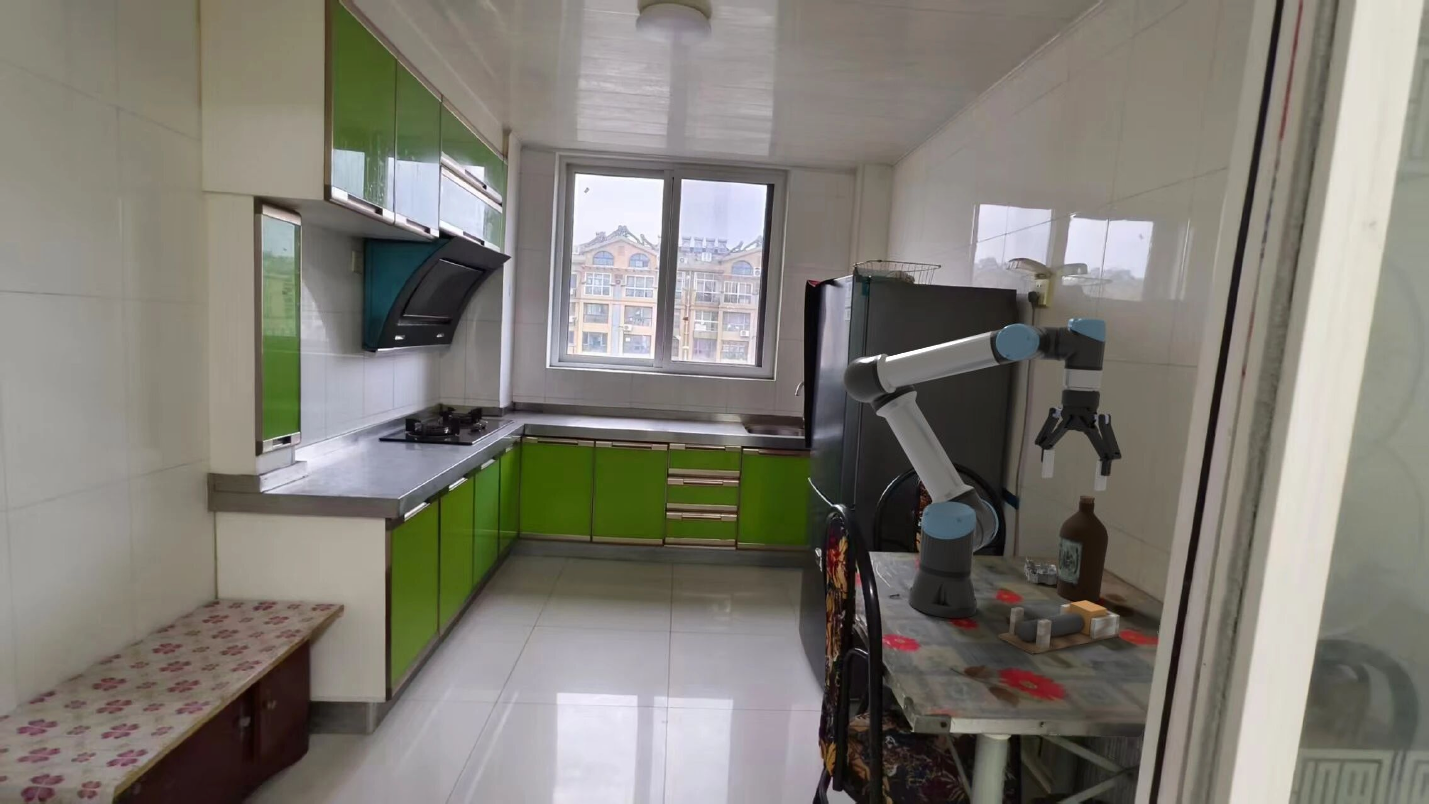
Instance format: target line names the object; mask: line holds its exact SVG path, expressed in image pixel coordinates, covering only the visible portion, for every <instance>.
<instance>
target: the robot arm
mask: <svg viewBox="0 0 1429 804" xmlns="http://www.w3.org/2000/svg"><path fill="white" fill-rule="evenodd" d="M1106 327H1107V323H1106V322H1105V321H1104V320H1103V319H1100V318H1083V317H1082V318H1081V317H1080V318H1070V319H1069V320H1068V322H1067V325H1066V326H1060V327H1059V326H1058V327H1056V326H1040V325H1031V324H1030V325H1029V324H1026V323H1020V322H1019V323H1014V324H1010V325H1007V326H1005V327H1003V328H1000V329H997V330H996V329H995V330H991V331H988V332H985V333H980V334H977V335H971V336H968V337H964V338H959V339H955V340H952V341H947V342H943V343H940V344H935V345H931V346H927V347H923V348H920V349H915V350H910V351H906V352H902V353H899V354H895V355H891V356H889V355H888V354H887V353H882V354H881V353H880V354H877V355H873V356H862V357H858V358H856V359H853V360H852V361H851V362H850V363H849V364H848V365H847V367H846V369H845V371H844V373H843V378H842V379H843V386H844V388H845V391H846V392H847V394H848V395H849V397H851V398H852V399H853V400H856V401H857V402H860V403H869V404H870V406H871V407H872V409H873V411H874V413H875V414H876V415H877V416H878V417H883V418H885V420H886V422H887V424H888V425H889V426H890V428H891V430H892V432H893V434H894V435H895V437H896V439H897V440H898V442H899V444H900V446H901V448H902V449H903V451H904V453H905V454H906V457H907V458H908V459H909V462H910V463H911V465H912V467H913V468H914V470H915V472H916V473H917V475H918V477H919V478H920V481H921V482H922V484H923V486H924V487H925V489H926V490H927V493H928V494H929V496H930V498H931V501H932V502H931V503H930V504H928V505H927V506H925V508H924V509H923V512H922V517H921V520H920V526H921V529H920V543H919V553H918V554H919V556H918V557H919V558H918V569H917V573H916V575H915V577H914V580H913V583H912V586H911V587H910V589H909V591H908V599H907V600H908V604H909V605H910V606H911V607H912V606H913V609H915V608H916V610H917V609H918V610H917V611H919V612H921V611H922V613H925V614H928V615H931V616H935V617H939V618H940V617H941V618H947V619H965V618H969V617H972V616H974V615H975V614H976V613H977V608H978V607H977V606H978V600H977V597H976V596H975V589H974V584H973V580H972V570H973V569H972V567H973V555H974V553H975V552H976V551H978V550H980V549H982V548H984V547H986V546H988V545H989V544H990V543H991V542H992V540H993V539H994V538H995V537H996V534H997V532H998V529H999V519H998V515H997V513H996V512H997V511H996V510H995V509H994V507H993V506H992V505H991V504H990V503H989V502H987V501H986V500H983V499H981V498H980V496H979V494H978V492H977V491H976V489H975V487H973V486H971V485H969V484H968V485H967V484H965V483H964V481H963V480H962V477H961V476H960V475H959V473H958V471H957V470H956V468H955V467H954V465H953V463H952V462H951V460H950V458H949V456H948V455H947V453H946V451H945V449H944V448H943V446H942V445H941V442H940V441H939V439H938V438H937V436H936V434H935V433H934V431H933V429H932V428H931V426H930V424H929V423H928V421H927V419H926V418H925V416H924V414H923V412H922V410H920V407H919V406H918V404H917V403H916V399H917V394H918V392H917V391H916V389H915V388H914V385H913V384H918V383H923V382H927V381H932V380H936V379H941V378H945V377H949V376H954V375H958V374H963V373H968V372H972V371H977V370H982V369H984V368H985V369H986V368H989V367H995V366H999V365H1005V364H1010V363H1014V362H1020V361H1023V360H1025V361H1026V360H1032V361H1033V360H1037V361H1059V362H1061V361H1064V369H1063V378H1062V386H1063V387H1065V388H1063V390H1061V399H1060V401H1061V403H1060V404H1061V405H1062V407H1050V408H1049V410H1048V414H1047V417H1046V420H1045V421H1044V423H1043V425H1042V427H1041V429H1040V431H1039V432H1038V434H1037V436H1036V438H1035V440H1034V445H1036V446H1039V447H1040V449H1041V453H1040V454H1041V455H1040V462H1041V463H1042V467H1041V469H1042V470H1041V478H1043V479H1049V478H1050V479H1051V478H1053V477H1054V467H1055V455H1056V450H1055V449H1054V446H1055V445H1056V444H1057V443H1058V442H1059V441H1060V440H1061V439H1062V437H1064V436H1065V435H1066V434H1067V433H1068V432H1069V431H1075V432H1080V433H1083V434H1084V435H1085V436H1087V438H1088V440H1089V442H1090V444H1091V445H1092V447H1093V448H1094V450H1095V451H1096V454H1097V456H1098V457H1099V459H1098V460H1096V465H1095V467H1096V468H1095V477H1094V487H1093V490H1094V491H1095V492H1103V491H1106V490H1107V482H1108V477H1110V476H1111V471H1112V463H1113V461H1116V460H1121V459H1122V453H1121V450H1120V448H1119V444H1118V441H1117V438H1116V436H1115V432H1114V430H1113V427H1112V415H1111V414H1110V413H1100V414H1099V413H1098V408H1099V406H1100V402H1101V400H1100V399H1101V392H1100V391H1099V390H1098V389H1101V387H1102V376H1103V367H1104V357H1105V350H1106V349H1105V348H1106V342H1107V339H1106V329H1107V328H1106ZM1061 408H1062V409H1061ZM1060 418H1061V421H1059V420H1060ZM1058 422H1059V423H1058ZM1097 424H1098V426H1097ZM1055 427H1056V428H1055Z"/></svg>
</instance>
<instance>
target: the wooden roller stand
mask: <svg viewBox="0 0 1429 804" xmlns="http://www.w3.org/2000/svg"><path fill="white" fill-rule="evenodd" d="M1069 611H1070V603H1066V604H1061V605H1060V609H1059V615H1063V614H1068V613H1069ZM1024 612H1025V608H1023V607H1021V606H1016V607H1012V608H1011V609H1010V618H1009V629H1008V632H1003V633H998V635H997V638H998V639H1000V640H1002V641H1004V640H1005V642H1006V641H1007V643H1009V644H1010V643H1011V644H1010V645H1012V646H1014V647H1016V648H1018V649H1020V648H1021V650H1022V651H1024V650H1025V653H1028V654H1030V655H1035V654H1034V653H1036V654H1039V653H1040V654H1041V653H1044V652H1050V651H1054V650H1061V649H1065V648H1069V647H1073V646H1074V647H1075V646H1078V645H1083V644H1087V643H1093V642H1099V641H1103V640H1107V639H1112V638H1115V637H1116V638H1117V637H1119V634H1120V633H1119V628H1120V627H1119V626H1120V615H1119V614H1117V613H1114V612H1112V611H1110V610H1107V611H1106V616H1102V617H1097V618H1092V620H1091V630H1090V635H1087V634H1084V633H1082V632H1076V633H1071V634H1066V635H1061V636H1056V637H1051V638H1050V632H1051V621H1049V620H1047V619H1045V620H1039V621H1038V627H1037V638H1036V641H1031V642H1026V641H1023V640H1021V639H1020V638H1019V637H1018V635H1017V631H1016V630H1017V626H1018V625H1019V624H1020V623H1021V622H1024V614H1025V613H1024Z"/></svg>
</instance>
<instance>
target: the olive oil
mask: <svg viewBox="0 0 1429 804" xmlns="http://www.w3.org/2000/svg"><path fill="white" fill-rule="evenodd" d="M1079 499H1080V500H1079V501H1078V510H1077V511H1076V512H1075V513H1073V514H1072V515H1071V516H1070V517H1068V518H1067V519H1066V520H1065V521H1064V522H1063V523H1062V525H1061V527H1060V530H1059V534H1058V539H1059V541H1058V542H1059V543H1058V563H1057V564H1058V565H1057V566H1058V568H1057V573H1058V574H1057V581H1056V586H1057V587H1056V593H1057V594H1058V595H1059V596H1060V597H1062V598H1064V599H1066V600H1070V601H1074V602H1079V601H1085V600H1086V601H1089V602H1091V603H1098V601H1099V600H1100V598H1101V597H1100V596H1101V589H1102V581H1103V577H1104V576H1103V575H1104V568H1105V563H1106V557H1107V556H1106V555H1107V550H1108V549H1107V548H1108V546H1109V545H1108V544H1109V534H1108V531H1107V528H1106V526H1105V525H1104V524H1103V523H1102V521H1101V520H1100V519H1099V518H1098V516H1097V515H1096V514H1095V513H1094V512H1095V511H1094V510H1095V506H1096V505H1095V497H1094V496H1091V495H1080V496H1079Z"/></svg>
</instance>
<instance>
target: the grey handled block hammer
mask: <svg viewBox="0 0 1429 804" xmlns="http://www.w3.org/2000/svg"><path fill="white" fill-rule="evenodd" d="M1069 604H1070V611H1069V613H1068V614H1063V615H1060V614H1057V615H1052V616H1047V617H1041V618H1037V619H1031V620H1023V622H1021V623H1020V624H1019V625H1018V626H1017V630H1016V631H1017V635H1018V637H1019V638H1020V639H1021V640H1023V641H1026V642H1031V641H1036V638H1037V627H1038V621H1039V620H1045V619H1047V620H1049V621H1051V632H1050V638H1051V637H1056V636H1061V635H1066V634H1071V633H1076V632H1082V633H1084V634H1087V635H1090V630H1091V620H1092V618H1097V617H1102V616H1106V611H1108V610H1107V608H1106V607H1104V606H1101V605H1099V604H1096V603H1095V602H1093V603H1091V602H1089V601H1086V600H1085V601H1079V602H1077V601H1074V602H1070V603H1069Z"/></svg>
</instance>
